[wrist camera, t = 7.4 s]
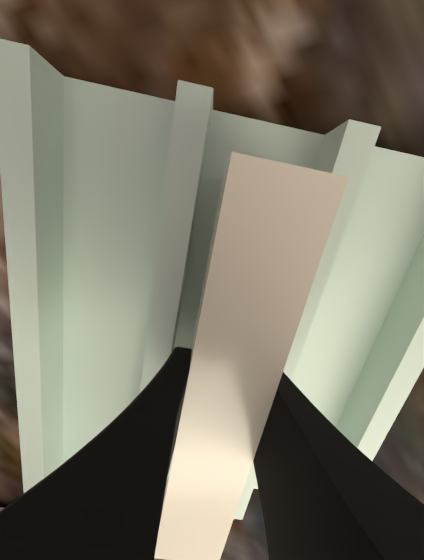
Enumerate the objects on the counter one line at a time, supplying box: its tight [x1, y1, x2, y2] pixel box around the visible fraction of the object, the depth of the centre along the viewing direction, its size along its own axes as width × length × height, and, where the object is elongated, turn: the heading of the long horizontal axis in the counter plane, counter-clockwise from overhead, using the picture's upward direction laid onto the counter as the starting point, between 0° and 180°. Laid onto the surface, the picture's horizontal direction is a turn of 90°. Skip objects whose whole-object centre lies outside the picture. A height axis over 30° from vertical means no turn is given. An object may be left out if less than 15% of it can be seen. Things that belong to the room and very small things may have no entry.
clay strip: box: [154, 152, 348, 560], centre depth 9 cm, size 14×2×4 cm, turn 169°
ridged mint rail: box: [0, 39, 424, 520], centre depth 10 cm, size 18×17×2 cm
